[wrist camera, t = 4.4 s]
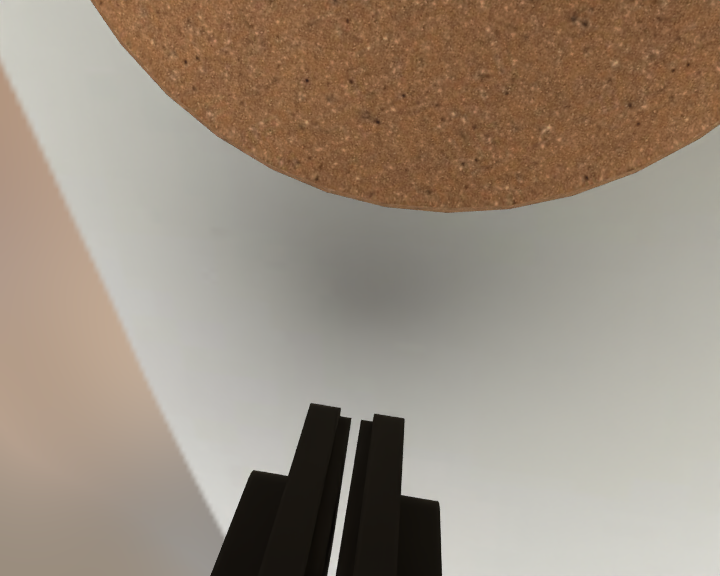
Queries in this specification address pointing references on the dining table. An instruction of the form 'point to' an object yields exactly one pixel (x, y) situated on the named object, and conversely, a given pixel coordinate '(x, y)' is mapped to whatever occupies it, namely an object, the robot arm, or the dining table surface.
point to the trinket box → (437, 89)
